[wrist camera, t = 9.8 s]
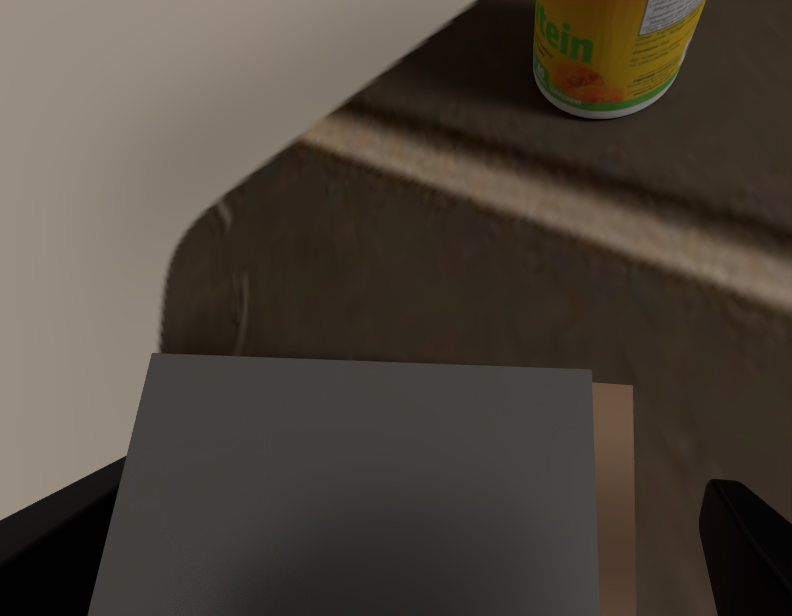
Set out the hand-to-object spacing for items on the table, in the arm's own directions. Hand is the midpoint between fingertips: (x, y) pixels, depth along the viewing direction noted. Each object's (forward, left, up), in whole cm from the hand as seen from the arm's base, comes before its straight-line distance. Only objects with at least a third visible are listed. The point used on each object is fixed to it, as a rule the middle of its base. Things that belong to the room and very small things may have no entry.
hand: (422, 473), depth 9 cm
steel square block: (-1, 0, -8) cm, 8 cm away
